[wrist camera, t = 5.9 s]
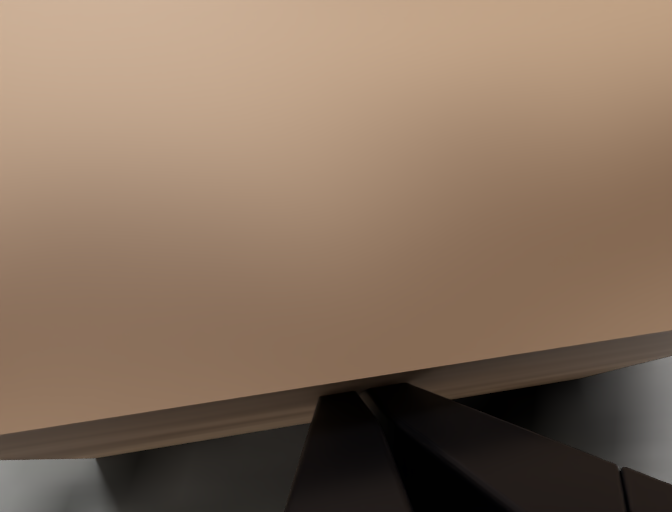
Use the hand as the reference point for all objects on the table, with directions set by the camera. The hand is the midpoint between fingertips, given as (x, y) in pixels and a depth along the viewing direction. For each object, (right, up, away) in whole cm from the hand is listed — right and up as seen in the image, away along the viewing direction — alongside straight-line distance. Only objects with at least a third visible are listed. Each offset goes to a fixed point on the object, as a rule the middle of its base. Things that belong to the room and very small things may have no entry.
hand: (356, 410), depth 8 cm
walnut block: (-1, +5, +9) cm, 10 cm away
